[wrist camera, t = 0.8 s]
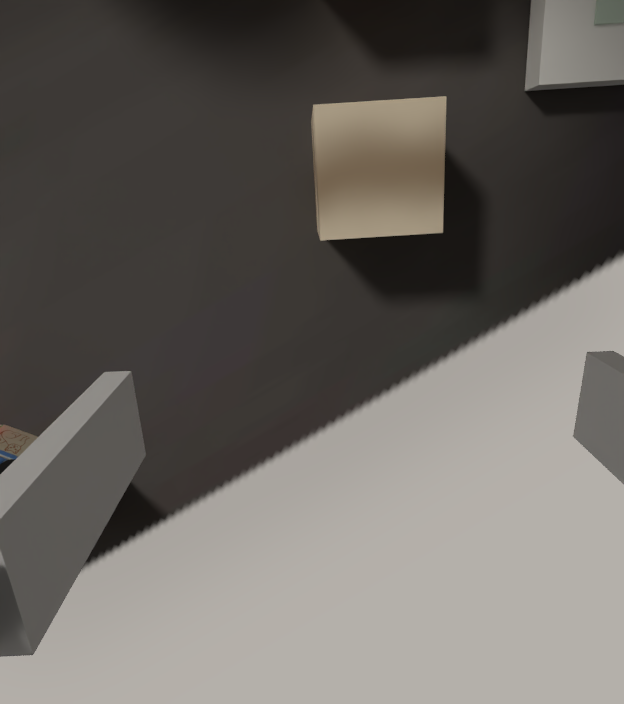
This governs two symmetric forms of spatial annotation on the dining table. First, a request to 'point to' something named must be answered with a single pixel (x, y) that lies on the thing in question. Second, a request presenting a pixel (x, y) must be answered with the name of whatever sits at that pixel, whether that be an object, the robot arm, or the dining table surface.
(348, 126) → the maple block
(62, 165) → the dining table surface
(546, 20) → the base plate
